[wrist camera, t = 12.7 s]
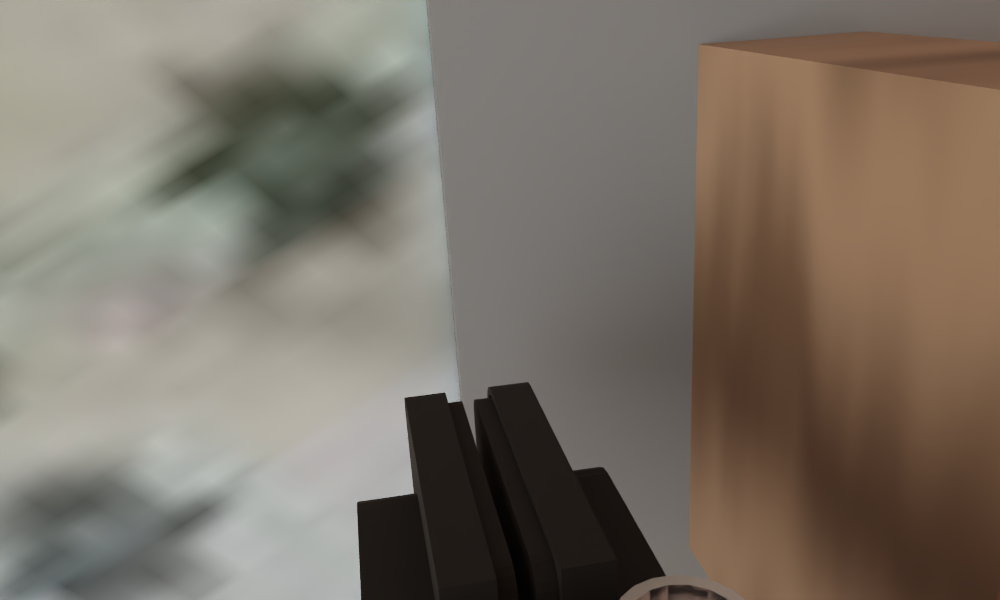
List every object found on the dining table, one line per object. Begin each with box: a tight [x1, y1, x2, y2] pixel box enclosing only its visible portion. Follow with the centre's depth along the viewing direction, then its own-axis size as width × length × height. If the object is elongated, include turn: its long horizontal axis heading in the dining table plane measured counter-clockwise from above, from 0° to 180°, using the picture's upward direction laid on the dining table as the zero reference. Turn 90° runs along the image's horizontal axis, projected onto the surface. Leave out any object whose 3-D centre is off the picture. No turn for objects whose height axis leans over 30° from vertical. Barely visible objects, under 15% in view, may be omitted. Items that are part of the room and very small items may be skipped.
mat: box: [426, 0, 1000, 580], centre depth 17 cm, size 14×16×1 cm
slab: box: [689, 31, 1000, 600], centre depth 13 cm, size 10×3×8 cm, turn 3°
